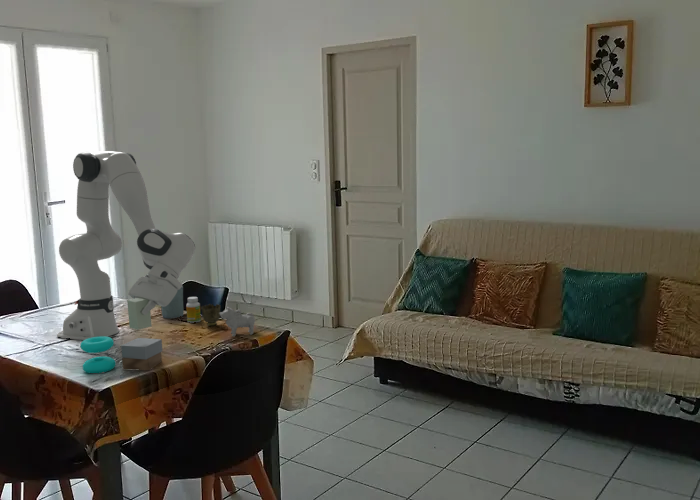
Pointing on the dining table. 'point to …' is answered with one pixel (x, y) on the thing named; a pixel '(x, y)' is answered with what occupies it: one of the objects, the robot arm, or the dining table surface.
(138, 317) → the sage block
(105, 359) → the donuts
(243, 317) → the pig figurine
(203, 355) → the dining table surface
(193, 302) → the supplement bottle
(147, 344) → the tower top slab
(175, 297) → the grey-blue plant pot
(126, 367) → the tower bottom slab
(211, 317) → the cup
